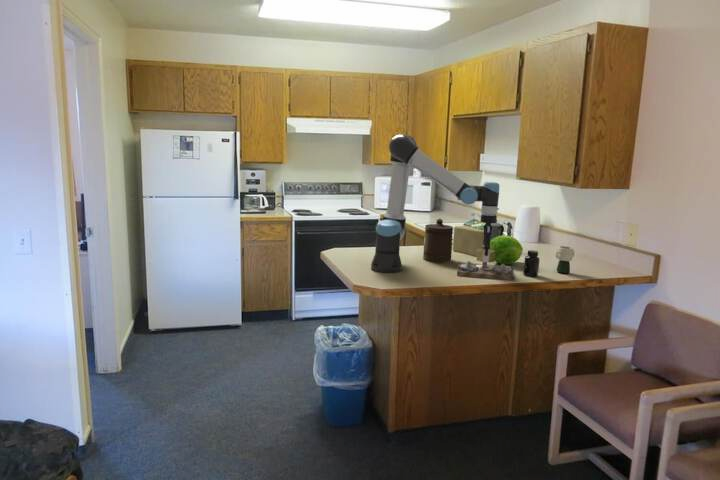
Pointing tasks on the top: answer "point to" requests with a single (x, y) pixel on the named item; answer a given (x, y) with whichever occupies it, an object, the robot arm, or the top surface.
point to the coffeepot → (496, 230)
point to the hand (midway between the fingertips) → (485, 260)
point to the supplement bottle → (531, 264)
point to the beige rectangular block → (467, 240)
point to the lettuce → (506, 249)
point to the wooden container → (438, 242)
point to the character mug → (564, 258)
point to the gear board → (485, 271)
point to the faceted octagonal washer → (480, 255)
